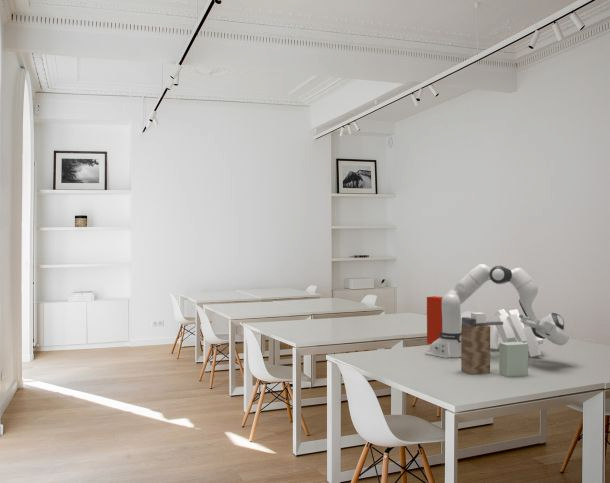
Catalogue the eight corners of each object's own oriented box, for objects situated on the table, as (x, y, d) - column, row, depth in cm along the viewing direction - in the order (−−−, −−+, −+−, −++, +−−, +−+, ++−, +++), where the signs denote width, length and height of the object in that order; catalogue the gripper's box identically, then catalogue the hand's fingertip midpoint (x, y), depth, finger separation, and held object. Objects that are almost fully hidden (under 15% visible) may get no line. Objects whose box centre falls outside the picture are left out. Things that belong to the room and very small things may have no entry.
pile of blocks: (554, 363, 360) (545, 310, 376) (538, 351, 339) (529, 295, 355) (500, 371, 379) (493, 320, 395) (481, 360, 358) (475, 307, 375)
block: (519, 372, 311) (519, 341, 311) (527, 375, 305) (527, 344, 305) (499, 373, 308) (499, 342, 308) (507, 376, 301) (507, 345, 301)
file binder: (446, 347, 383) (446, 299, 383) (426, 343, 397) (426, 296, 397) (454, 346, 388) (454, 298, 388) (434, 342, 402) (434, 296, 402)
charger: (498, 323, 319) (498, 311, 319) (504, 325, 315) (504, 312, 315) (470, 324, 315) (470, 312, 315) (476, 326, 310) (476, 313, 310)
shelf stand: (480, 369, 319) (480, 316, 319) (490, 373, 310) (490, 318, 310) (461, 370, 315) (461, 317, 315) (470, 374, 307) (470, 319, 307)
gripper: (534, 320, 335) (516, 309, 331) (558, 325, 315) (539, 313, 312) (529, 330, 334) (511, 319, 331) (553, 335, 314) (534, 324, 311)
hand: (525, 316), depth 321 cm, fingers open, 8 cm apart
